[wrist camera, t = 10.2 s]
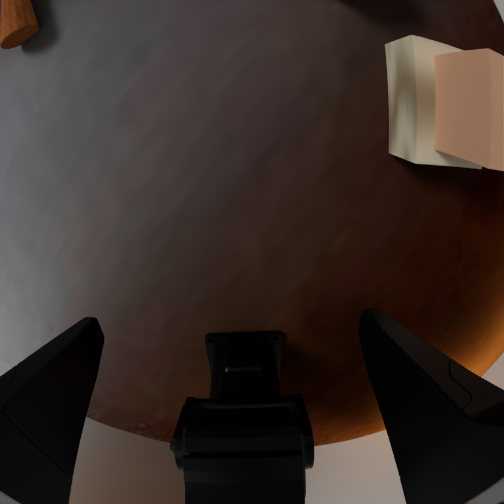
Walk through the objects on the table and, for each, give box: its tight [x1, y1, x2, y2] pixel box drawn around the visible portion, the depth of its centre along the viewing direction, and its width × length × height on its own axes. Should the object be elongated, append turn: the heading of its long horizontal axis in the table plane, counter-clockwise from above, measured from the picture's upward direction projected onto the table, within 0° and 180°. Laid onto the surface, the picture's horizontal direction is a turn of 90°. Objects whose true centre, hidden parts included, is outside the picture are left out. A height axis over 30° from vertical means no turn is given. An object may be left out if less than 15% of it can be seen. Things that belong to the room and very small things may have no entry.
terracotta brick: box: [434, 49, 504, 171], centre depth 11 cm, size 6×4×5 cm, turn 3°
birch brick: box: [385, 35, 482, 169], centre depth 15 cm, size 8×6×4 cm
